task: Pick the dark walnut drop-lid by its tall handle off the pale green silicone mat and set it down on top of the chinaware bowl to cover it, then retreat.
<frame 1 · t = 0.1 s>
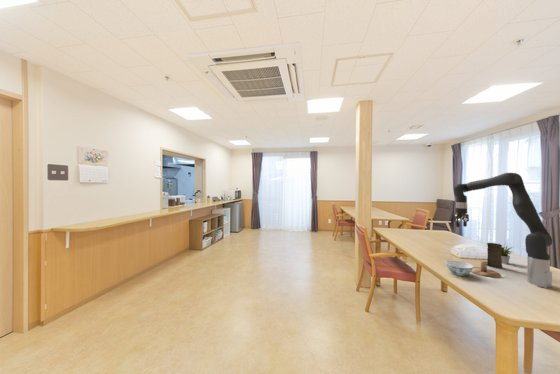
hand: (461, 226, 180), 29 cm above the table, fingers open, 8 cm apart
mat: (483, 273, 155), on the table
container: (494, 267, 167), on the table
house plant: (501, 262, 177), on the table
chinaware: (458, 274, 153), on the table
lid: (483, 272, 155), point 1 cm above the table, touching mat
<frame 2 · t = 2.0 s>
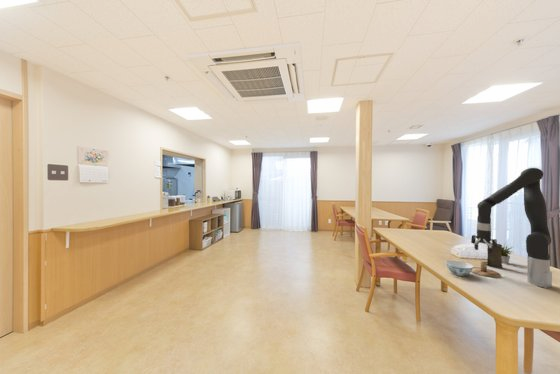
hand: (483, 251, 155), 16 cm above the table, fingers open, 8 cm apart
nothing on the table moved.
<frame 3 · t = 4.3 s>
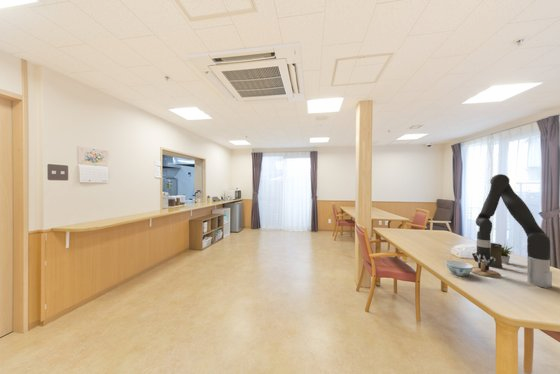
hand: (483, 269, 155), 3 cm above the table, fingers closed on lid, 3 cm apart
lid: (483, 272, 155), point 1 cm above the table, touching gripper, mat
everything else where it was.
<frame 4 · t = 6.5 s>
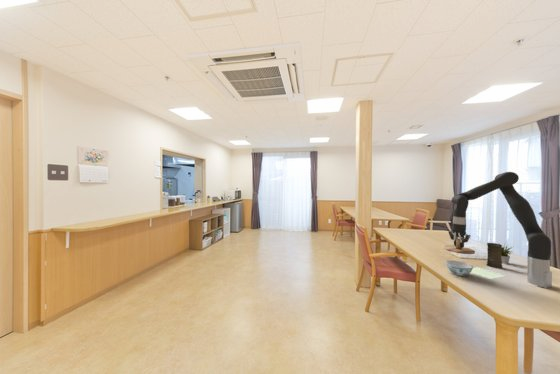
hand: (458, 246, 154), 20 cm above the table, fingers closed on lid, 3 cm apart
lid: (458, 250, 154), point 17 cm above the table, touching gripper
everything else where it was.
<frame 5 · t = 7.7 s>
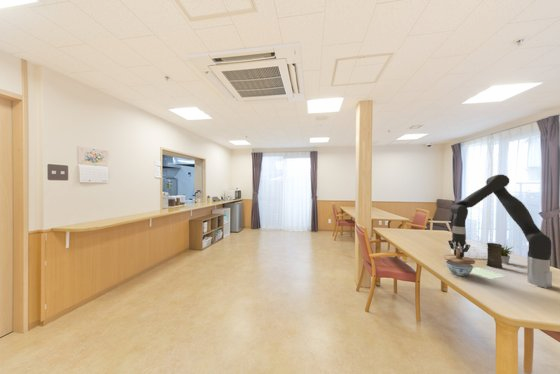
hand: (458, 256, 153), 13 cm above the table, fingers closed on lid, 3 cm apart
lid: (458, 259, 153), point 11 cm above the table, touching gripper
everything else where it was.
when the fingers open (11 cm above the table, at t = 8.7 s): lid drops 1 cm, resting on chinaware.
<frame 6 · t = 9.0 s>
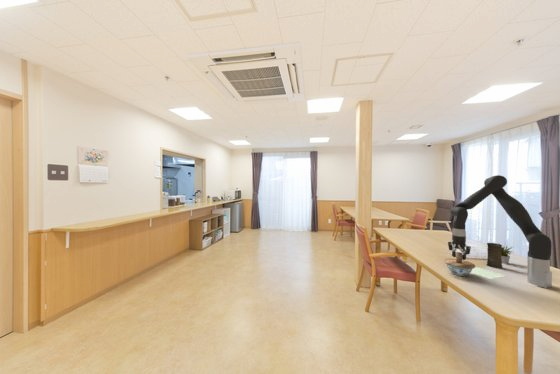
hand: (458, 258, 153), 12 cm above the table, fingers open, 5 cm apart
chinaware: (458, 275, 153), on the table, touching lid
lid: (459, 264, 153), point 8 cm above the table, touching chinaware
everything else where it was.
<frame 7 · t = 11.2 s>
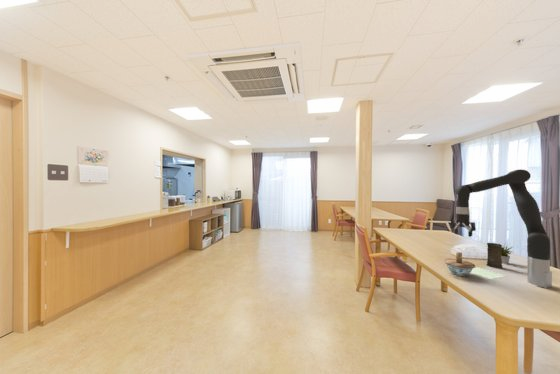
hand: (463, 235, 156), 27 cm above the table, fingers open, 8 cm apart
nothing on the table moved.
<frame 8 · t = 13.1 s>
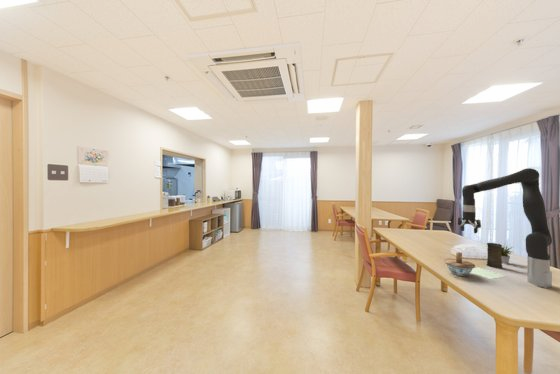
hand: (468, 232, 165), 28 cm above the table, fingers open, 8 cm apart
nothing on the table moved.
at the end: lid inside the target area on the chinaware (0.1 cm from its centre), point 7.9 cm above the chinaware's base; lid tilted 0°; the gripper is holding nothing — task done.
